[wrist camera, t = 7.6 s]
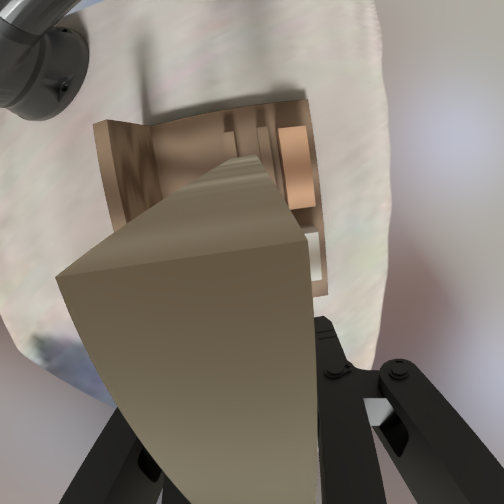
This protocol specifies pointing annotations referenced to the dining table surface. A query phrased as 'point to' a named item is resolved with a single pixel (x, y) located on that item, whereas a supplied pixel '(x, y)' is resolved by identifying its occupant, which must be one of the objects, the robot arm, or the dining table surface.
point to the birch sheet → (209, 336)
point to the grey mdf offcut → (313, 250)
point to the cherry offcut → (296, 167)
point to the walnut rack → (199, 158)
